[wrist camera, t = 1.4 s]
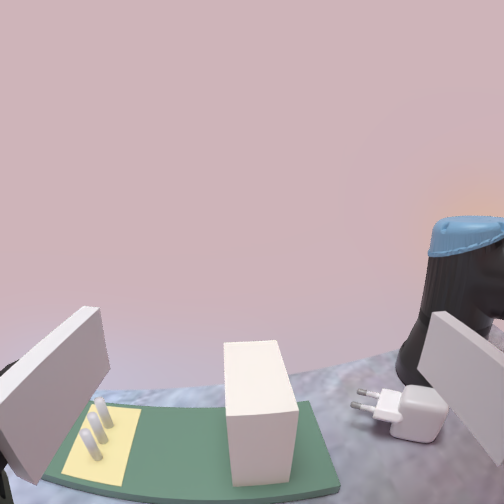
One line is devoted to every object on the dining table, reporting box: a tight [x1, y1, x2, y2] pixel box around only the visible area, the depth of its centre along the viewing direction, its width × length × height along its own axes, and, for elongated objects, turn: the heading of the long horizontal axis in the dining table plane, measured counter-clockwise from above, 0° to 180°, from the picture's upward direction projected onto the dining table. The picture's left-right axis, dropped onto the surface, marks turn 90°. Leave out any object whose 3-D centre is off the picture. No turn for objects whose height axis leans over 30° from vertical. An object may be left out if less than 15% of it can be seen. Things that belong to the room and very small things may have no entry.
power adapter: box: [350, 385, 449, 443], centre depth 27 cm, size 11×5×6 cm, turn 58°
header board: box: [41, 397, 341, 504], centre depth 25 cm, size 30×13×6 cm, turn 95°
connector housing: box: [224, 340, 299, 487], centre depth 25 cm, size 5×10×10 cm, turn 5°
